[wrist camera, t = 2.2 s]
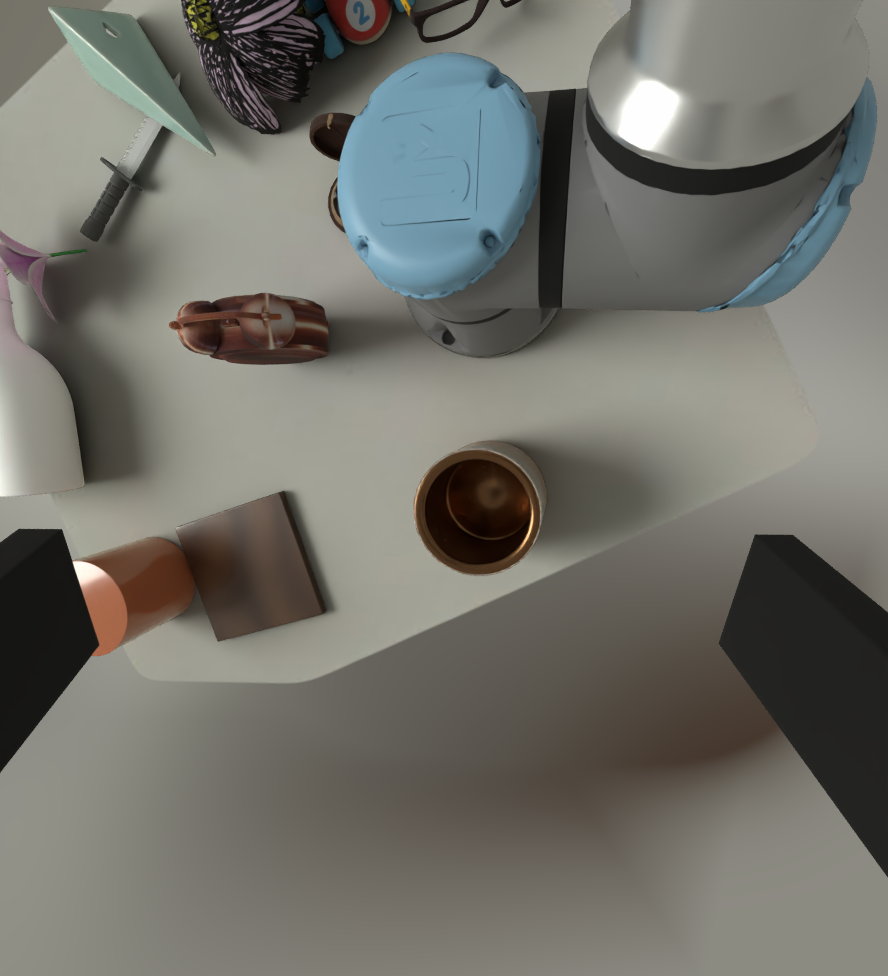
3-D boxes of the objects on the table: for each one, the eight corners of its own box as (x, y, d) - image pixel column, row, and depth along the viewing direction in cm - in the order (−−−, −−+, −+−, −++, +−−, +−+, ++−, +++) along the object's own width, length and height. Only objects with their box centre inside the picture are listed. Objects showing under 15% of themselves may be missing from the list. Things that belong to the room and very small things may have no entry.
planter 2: (235, 203, 58) (128, 77, 57) (249, 151, 53) (132, 13, 53) (169, 214, 52) (50, 75, 52) (178, 157, 48) (47, 3, 47)
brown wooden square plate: (283, 490, 57) (278, 492, 56) (326, 610, 58) (322, 614, 57) (180, 525, 61) (174, 527, 60) (223, 638, 62) (217, 641, 61)
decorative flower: (95, -30, 43) (202, -198, 35) (199, 5, 52) (302, -123, 45) (200, 155, 48) (315, 42, 40) (279, 157, 57) (385, 65, 49)
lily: (36, 207, 60) (-69, 214, 53) (79, 183, 53) (-34, 186, 46) (85, 316, 65) (-5, 335, 58) (131, 306, 58) (35, 326, 51)
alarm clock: (347, 312, 53) (265, 276, 38) (350, 361, 54) (271, 344, 39) (249, 321, 55) (138, 291, 41) (254, 368, 56) (146, 355, 42)
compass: (331, 239, 52) (295, 213, 45) (333, 152, 51) (296, 111, 44) (409, 239, 51) (384, 211, 43) (413, 149, 49) (388, 105, 42)
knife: (205, 93, 54) (169, 65, 54) (190, 78, 51) (153, 48, 52) (112, 253, 57) (78, 225, 58) (94, 245, 55) (59, 216, 55)
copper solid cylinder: (177, 527, 61) (104, 549, 51) (207, 607, 62) (141, 644, 52) (111, 549, 63) (30, 575, 54) (140, 626, 64) (66, 665, 55)
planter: (562, 528, 51) (563, 554, 42) (460, 561, 54) (439, 593, 45) (523, 423, 51) (515, 426, 41) (422, 462, 53) (392, 473, 44)
